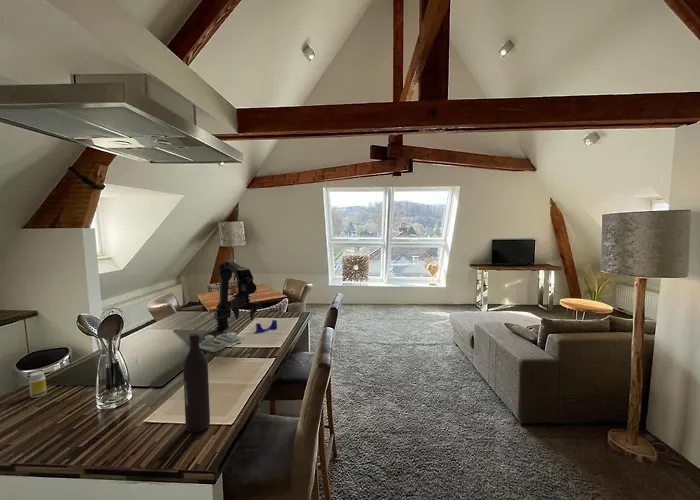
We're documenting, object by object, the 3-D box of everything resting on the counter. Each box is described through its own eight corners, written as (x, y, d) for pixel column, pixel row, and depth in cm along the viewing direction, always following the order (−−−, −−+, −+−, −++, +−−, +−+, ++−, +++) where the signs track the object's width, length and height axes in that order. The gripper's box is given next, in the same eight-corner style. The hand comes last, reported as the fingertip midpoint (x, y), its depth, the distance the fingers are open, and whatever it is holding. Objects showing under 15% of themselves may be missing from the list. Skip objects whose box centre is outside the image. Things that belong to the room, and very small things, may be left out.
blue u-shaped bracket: (259, 335, 200) (259, 325, 199) (256, 333, 203) (256, 323, 203) (278, 331, 207) (277, 321, 207) (274, 329, 211) (274, 319, 210)
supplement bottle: (49, 392, 132) (48, 371, 131) (35, 398, 127) (34, 376, 126) (40, 391, 133) (39, 370, 132) (26, 396, 128) (24, 375, 128)
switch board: (193, 347, 179) (193, 343, 179) (227, 336, 198) (227, 331, 198) (213, 353, 171) (213, 348, 171) (247, 340, 190) (247, 335, 190)
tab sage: (205, 342, 182) (204, 335, 182) (209, 341, 184) (209, 334, 184) (210, 344, 180) (209, 336, 180) (214, 342, 182) (213, 335, 182)
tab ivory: (227, 340, 186) (227, 333, 186) (231, 338, 188) (231, 331, 188) (232, 341, 184) (232, 334, 184) (236, 339, 186) (236, 332, 186)
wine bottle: (198, 418, 113) (194, 330, 111) (214, 423, 110) (211, 332, 108) (180, 430, 106) (176, 336, 104) (197, 435, 104) (194, 339, 102)
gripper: (218, 293, 179) (220, 322, 180) (249, 294, 173) (250, 324, 174) (232, 289, 189) (233, 317, 190) (261, 290, 184) (262, 319, 185)
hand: (244, 319), depth 185 cm, fingers open, 9 cm apart
